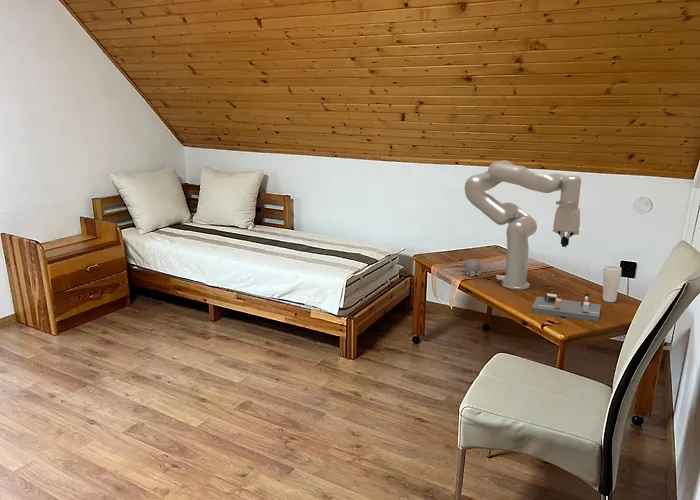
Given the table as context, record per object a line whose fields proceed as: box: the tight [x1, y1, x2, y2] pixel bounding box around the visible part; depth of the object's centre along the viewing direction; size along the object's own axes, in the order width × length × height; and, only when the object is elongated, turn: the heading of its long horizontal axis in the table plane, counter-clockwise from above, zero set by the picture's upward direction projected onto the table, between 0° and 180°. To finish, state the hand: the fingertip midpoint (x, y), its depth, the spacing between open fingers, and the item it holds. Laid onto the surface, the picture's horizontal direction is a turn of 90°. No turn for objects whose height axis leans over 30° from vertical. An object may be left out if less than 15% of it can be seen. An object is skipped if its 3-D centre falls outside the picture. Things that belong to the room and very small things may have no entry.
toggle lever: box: [584, 292, 590, 302], centre depth 221 cm, size 2×2×5 cm
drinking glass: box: [602, 264, 622, 303], centre depth 230 cm, size 7×7×15 cm
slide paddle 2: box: [583, 301, 589, 312], centre depth 213 cm, size 2×3×3 cm, turn 154°
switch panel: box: [531, 292, 602, 322], centre depth 220 cm, size 25×15×5 cm, turn 64°
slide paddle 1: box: [555, 298, 562, 308], centre depth 218 cm, size 2×3×3 cm, turn 154°
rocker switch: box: [546, 292, 558, 299], centre depth 226 cm, size 4×7×1 cm, turn 154°
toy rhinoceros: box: [461, 257, 482, 276], centre depth 271 cm, size 7×12×8 cm, turn 22°
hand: (564, 246), depth 235 cm, fingers closed
